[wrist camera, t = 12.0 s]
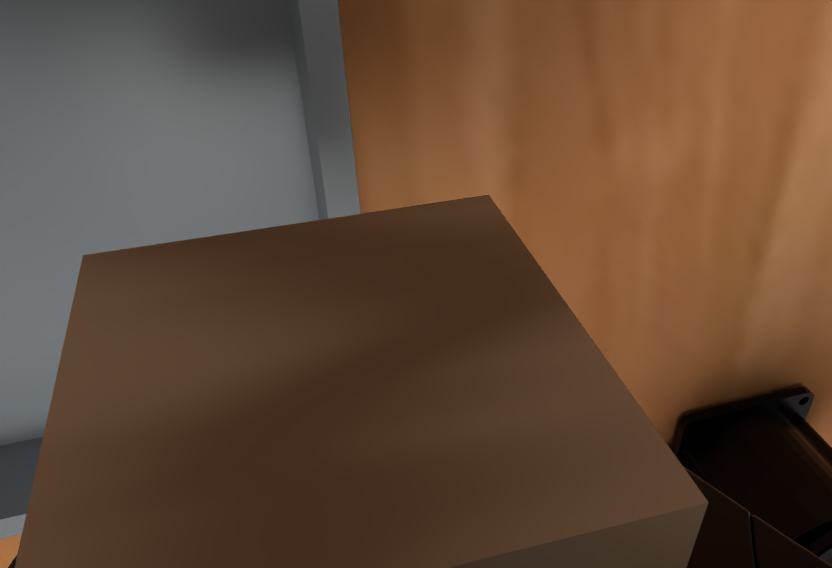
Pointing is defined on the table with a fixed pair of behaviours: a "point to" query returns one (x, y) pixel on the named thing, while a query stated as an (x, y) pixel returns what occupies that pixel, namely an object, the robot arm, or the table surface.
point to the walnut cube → (346, 410)
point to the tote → (148, 158)
